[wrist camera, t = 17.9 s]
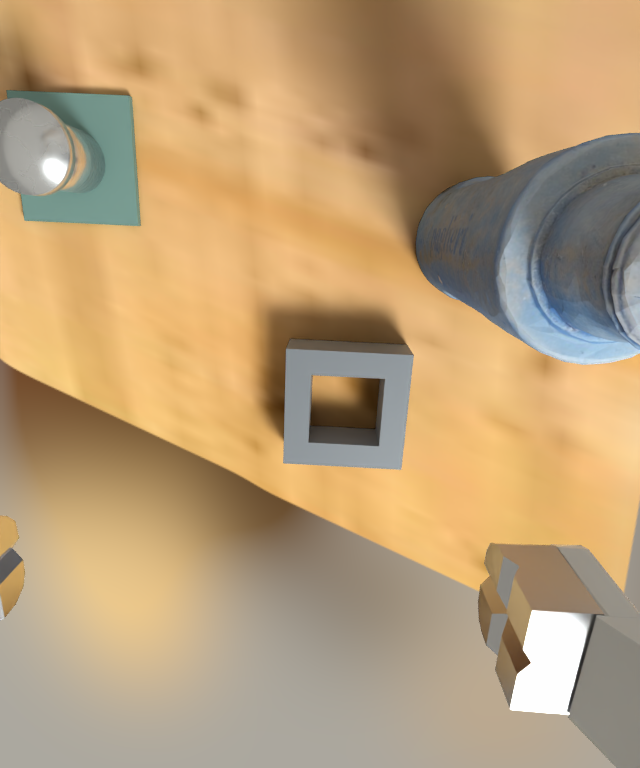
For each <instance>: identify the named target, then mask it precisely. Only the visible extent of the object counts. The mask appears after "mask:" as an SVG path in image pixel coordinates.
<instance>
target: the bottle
mask: <svg viewBox="0 0 640 768" xmlns="http://www.w3.org/2000/svg"><path fill="white" fill-rule="evenodd" d="M416 255H417V261H418V263H419V266H420V268H421V270H422V272H423V274H424V276H425V277H426V278H427V280H428V281H429V282H430V283H431V284H432V285H434V286H435V287H436V288H437V289H439V290H440V291H442V292H443V293H444V294H446V295H448V296H449V297H451V298H454V299H457V300H460V301H462V302H464V303H465V304H467V305H468V306H470V307H472V308H474V309H475V310H477V311H478V312H480V313H482V314H483V315H484V316H485V317H486V318H488V319H489V320H490V321H491V322H493V323H495V324H496V325H498V326H499V327H500V328H502V329H503V330H505V331H506V332H507V333H509V334H511V335H513V336H514V337H516V338H518V339H520V340H521V341H523V342H524V343H526V344H527V345H529V346H530V347H532V348H534V349H536V350H537V351H539V352H541V353H543V354H546V355H548V356H551V357H554V358H556V359H559V360H561V361H564V362H570V363H576V364H584V365H586V364H601V363H610V362H615V361H619V360H623V359H627V358H631V357H633V356H635V355H637V354H639V353H640V133H628V134H618V135H608V136H604V137H601V138H598V139H594V140H591V141H588V142H584V143H582V144H579V145H577V146H574V147H570V148H567V149H563V150H560V151H557V152H553V153H550V154H547V155H544V156H541V157H539V158H536V159H534V160H531V161H528V162H527V163H525V164H523V165H521V166H519V167H517V168H515V169H513V170H511V171H509V172H507V173H505V174H502V175H500V176H497V177H492V176H487V177H477V178H473V179H470V180H467V181H463V182H460V183H458V184H456V185H454V186H452V187H450V188H448V189H446V190H445V191H444V192H442V193H441V194H440V195H438V196H437V197H436V198H435V199H434V200H433V201H432V202H431V204H430V205H429V206H428V207H427V209H426V210H425V212H424V214H423V217H422V219H421V221H420V223H419V227H418V230H417V237H416Z"/></svg>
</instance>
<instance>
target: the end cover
mask: <svg viewBox="0 0 640 768" xmlns="http://www.w3.org/2000/svg"><path fill="white" fill-rule="evenodd" d="M104 172H105V158H104V155H103V152H102V150H101V148H100V146H99V144H98V143H97V142H96V140H95V139H94V138H93V137H92V136H91V135H89V134H88V133H86V132H84V131H82V130H80V129H77V128H74V127H72V126H69V125H67V124H64V123H63V121H62V120H61V119H60V118H59V117H58V116H57V115H56V114H55V113H54V112H52V111H51V110H50V109H48V108H46V107H45V106H42V105H40V104H38V103H35V102H33V101H30V100H27V99H23V98H9V99H5V100H2V101H0V182H1V183H2V184H3V185H5V186H6V187H8V188H9V189H11V190H13V191H15V192H18V193H21V194H25V195H33V196H47V195H51V194H54V193H56V192H58V191H66V192H73V193H86V192H89V191H91V190H93V189H95V188H96V187H97V186H98V185H99V184H100V182H101V181H102V179H103V176H104Z"/></svg>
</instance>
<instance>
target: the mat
mask: <svg viewBox="0 0 640 768" xmlns="http://www.w3.org/2000/svg"><path fill="white" fill-rule="evenodd" d="M6 91H7V98H8V99H9V98H23V99H27V100H30V101H33V102H35V103H38V104H40V105H42V106H45V107H46V108H48V109H50V110H51V111H52V112H54V113H55V114H56V115H57V116H58V117H59V118H60V119H61V120H62V121H63V123H64V124H67V125H69V126H72V127H74V128H77V129H80V130H82V131H84V132H86V133H88V134H89V135H91V136H92V137H93V138H94V139H95V140H96V142H97V143H98V144H99V146H100V148H101V150H102V152H103V155H104V158H105V172H104V176H103V179H102V181H101V182H100V184H99V185H98V186H97V187H96V188H95V189H93V190H91V191H89V192H86V193H73V192H66V191H58V192H56V193H54V194H51V195H47V196H33V195H25V194H21V199H22V206H23V213H24V220H25V221H46V222H67V223H88V224H109V225H130V226H141V224H140V209H139V194H138V180H137V165H136V150H135V136H134V121H133V106H132V97H130V96H126V95H104V94H81V93H58V92H35V91H12V90H6Z"/></svg>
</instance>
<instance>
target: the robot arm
mask: <svg viewBox="0 0 640 768" xmlns="http://www.w3.org/2000/svg"><path fill="white" fill-rule="evenodd" d="M18 539H19V535H18V531H17V527H16V522H15V521H14V520H13V519H11V518H9V517H8V516H0V620H2V619H4V618H5V617H6V616H7V614H8V613H9V612H10V611H11V610H12V608H13V607H14V606H15V605H16V603H17V601H18V598H19V596H20V594H21V591H22V589H23V586H24V576H25V569H24V563H23V559H22V558H21V557H20V556H19V555H18V554H17V553H16V552H15V551H14V550H13V549H12V548H13V546H14V545H15V543H16V542H17V540H18ZM485 566H486V568H487V570H488V573H489V575H490V576H489V577H488V578H487V579H486V580H485V581H484V582H483V583H482V584H481V585H480V592H479V599H478V612H479V622H480V627H481V631H482V635H483V638H484V640H485V643H486V646H488V647H489V648H490V649H491V650H492V651H493V652H495V653H496V654H497V655H498V657H497V663H496V667H495V670H496V673H497V676H498V678H499V681H500V684H501V687H502V689H503V692H504V695H505V697H506V700H507V702H508V705H509V708H510V709H512V710H523V711H534V712H545V713H557V714H568V715H569V716H568V718H569V719H570V720H571V721H572V722H573V723H574V724H575V725H576V726H577V727H578V728H579V729H580V730H581V731H582V733H583V734H584V735H585V736H587V738H588V739H589V740H590V741H591V742H592V743H593V744H594V745H595V746H596V747H597V748H598V749H599V750H600V751H601V752H602V753H603V754H604V755H605V756H606V757H607V758H608V759H609V761H611V763H612V764H613V765H614V766H616V768H640V613H639V612H638V610H637V609H636V608H635V607H634V605H633V604H632V603H631V602H630V600H629V599H628V598H627V597H626V595H625V594H624V593H623V592H622V590H621V589H620V588H619V587H618V585H617V584H616V583H615V582H614V581H613V579H612V578H611V577H610V576H609V574H608V573H607V572H606V571H605V569H604V568H603V567H602V566H601V564H600V563H599V562H598V561H597V559H596V558H595V557H594V556H593V554H592V553H591V552H590V551H589V550H588V549H587V548H585V547H583V546H581V545H531V544H506V543H490V545H489V547H488V549H487V552H486V557H485Z"/></svg>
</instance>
